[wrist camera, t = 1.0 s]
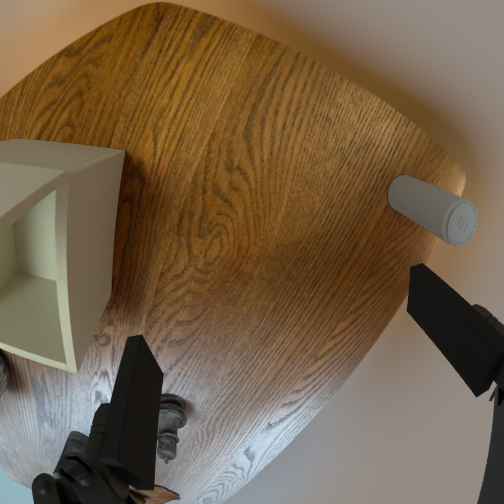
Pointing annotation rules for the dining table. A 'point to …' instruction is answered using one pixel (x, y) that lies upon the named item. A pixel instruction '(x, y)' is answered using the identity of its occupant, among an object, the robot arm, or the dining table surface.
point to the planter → (3, 375)
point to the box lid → (25, 189)
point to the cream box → (59, 254)
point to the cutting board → (153, 495)
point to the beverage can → (434, 209)
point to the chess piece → (169, 425)
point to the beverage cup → (74, 446)
